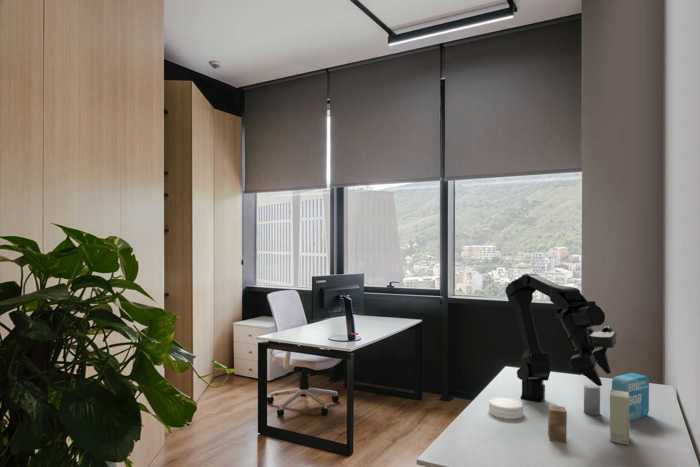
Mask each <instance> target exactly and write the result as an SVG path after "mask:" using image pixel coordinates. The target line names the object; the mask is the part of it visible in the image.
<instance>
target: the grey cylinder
mask: <svg viewBox="0 0 700 467" xmlns="http://www.w3.org/2000/svg"><path fill="white" fill-rule="evenodd" d="M600 387H601V386H597V385H596V384H595V385H593V384H584V386H583V413H584V414H585V415H589V416H592V417H599V416H600V415H601V388H600Z"/></svg>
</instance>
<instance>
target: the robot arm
mask: <svg viewBox="0 0 700 467" xmlns="http://www.w3.org/2000/svg"><path fill="white" fill-rule="evenodd" d="M536 291H537V292H539V293H541V294H543V295H545V296H547V297H548V298H549V301H550V302H551V303H552V304H554V305H555V306H556V307H558V309H556V310H555V313H554V316H553V319H554V320H557V319H559V321H560V322H561V325H562V327H563V328H564V330H565V331H566V333H567V335H568V336H567V341H568V342H570V341H571V342H572V344H573V346H574V348H575V349H574V353H575V354H573V355H572V356H571V357H570V359H569V361H568V365H569V367H570V368H571V370H575V371H578V372H579V373H581V374H582V375H583V376H584V377H586V378H587V379H589V381H590V382H592V383H593V384H595V386H598V387H602V386H603V383H602V381H601V377H600V375H599V373H598V371H597V368H596V366H597V365H598V366H599V367H600V369H602V371H604V373H605V374H607V375H609V374H611V373H612V371H611V368H610V363H609V360H608V355H607V353H608V350H609V349H611V348H612V349H613V348H614V347H615V345H616V344H617V338H616V337H617V333H616V331H615V330H613V329H612V328H611V326H604V327H602V330H598V331H594V329H593V328H592V327H598V326H602V325H603V324H604V322H605V319H606V314H605V312H604V311H603V309H602V308H601V307H600V306H598V305H597V304H596V303H597V302H596V301H594V300H593V301H591V300H589V301H588V300H587V299H586V298H585V296H584V295H583V294H582V293H581V290H580V289H579V288H577V287H573V286H568V285H559V284H558V283H555V282H553V281H551V280H549V279H547V278H545V277H543V276H541V275H540V274H537V273H524V274H522V275H521V276H520V277H519V278H516V279H514V280H512V281H511V282H509V283H508V285H507V286H506V287H505V295H506V297H507V300H508V303H509V304H510V305H511V306H512V307H513V308H514V309H515V314H516V318H517V323H518V327H519V332H520V336H521V342H522V345H523V349H524V350H523V353H522V356H521V365H520V366H519V368H518V369H517V371H516V377H517V379H519V380H520V381H521V395H520V399H521V400H527V401H534V402H538V403H541V402H543V400H545V397H546V385H545V384H544V381H547V382H548V381H549V378H550V374H551V371H552V364H551V362H550V361H551V360H550V357H549V354H548V352H547V351H546V352H544V351H543V349H541V347H540V344H539V339H538V335H537V330H536V327H535V326H536V325H535V321H534V318H533V313H532V308H531V305H532V302H533V299H534V298H533V297H534V296H533V294H534V293H535V292H536Z"/></svg>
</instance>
